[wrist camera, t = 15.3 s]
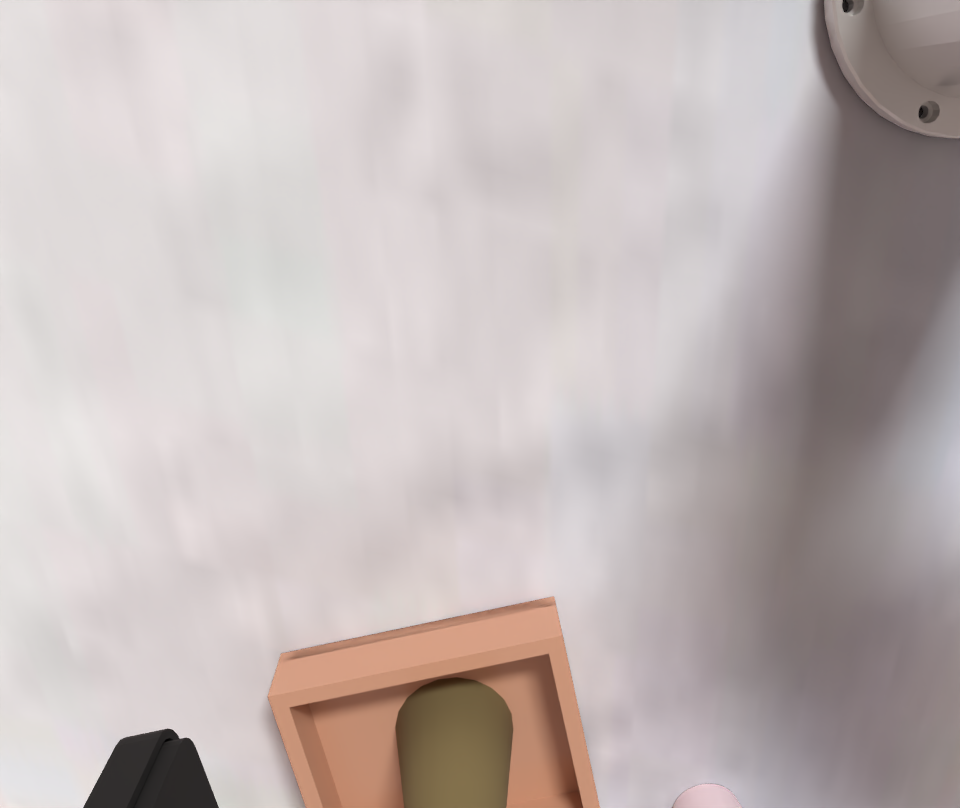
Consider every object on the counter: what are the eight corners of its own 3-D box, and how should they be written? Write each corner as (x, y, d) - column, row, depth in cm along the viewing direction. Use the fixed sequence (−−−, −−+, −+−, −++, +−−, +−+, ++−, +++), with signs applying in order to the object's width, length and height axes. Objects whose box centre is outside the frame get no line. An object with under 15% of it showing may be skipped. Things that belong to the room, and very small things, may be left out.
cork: (488, 789, 47) (500, 983, 36) (379, 758, 46) (358, 948, 35) (530, 696, 45) (556, 872, 35) (418, 662, 44) (409, 832, 34)
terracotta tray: (554, 596, 44) (562, 635, 41) (595, 788, 48) (606, 838, 45) (281, 653, 45) (267, 696, 41) (343, 839, 48) (335, 892, 45)
